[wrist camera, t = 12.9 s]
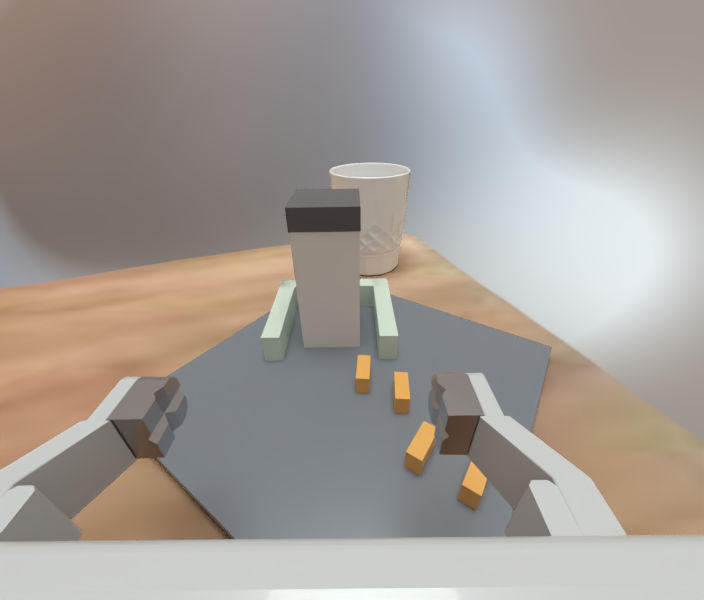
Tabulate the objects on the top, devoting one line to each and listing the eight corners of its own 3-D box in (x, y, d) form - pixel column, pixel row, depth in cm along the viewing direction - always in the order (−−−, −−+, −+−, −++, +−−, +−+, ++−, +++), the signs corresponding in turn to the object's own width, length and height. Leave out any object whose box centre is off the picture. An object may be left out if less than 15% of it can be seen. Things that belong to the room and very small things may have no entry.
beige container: (303, 348, 22) (284, 207, 17) (309, 314, 26) (296, 189, 20) (360, 347, 22) (360, 206, 17) (359, 314, 26) (358, 188, 20)
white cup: (319, 263, 36) (312, 170, 31) (366, 243, 41) (367, 160, 35) (371, 287, 31) (373, 181, 26) (417, 261, 36) (426, 168, 31)
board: (118, 419, 18) (103, 396, 17) (328, 281, 32) (327, 263, 31) (447, 766, 9) (459, 763, 8) (548, 355, 22) (557, 333, 21)
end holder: (396, 358, 21) (398, 335, 20) (265, 360, 21) (260, 337, 20) (385, 298, 28) (386, 278, 27) (285, 300, 28) (282, 280, 27)
